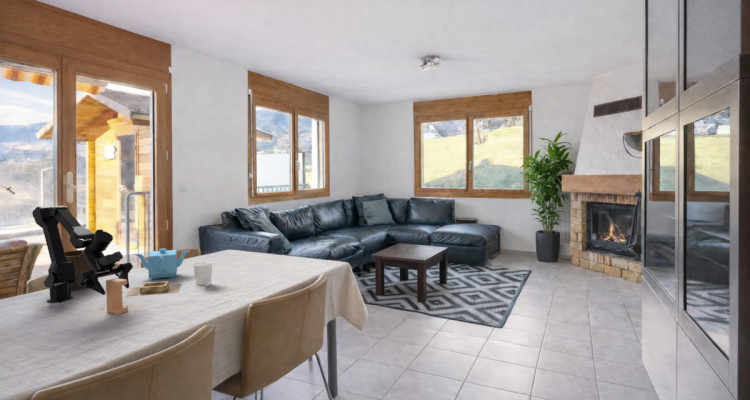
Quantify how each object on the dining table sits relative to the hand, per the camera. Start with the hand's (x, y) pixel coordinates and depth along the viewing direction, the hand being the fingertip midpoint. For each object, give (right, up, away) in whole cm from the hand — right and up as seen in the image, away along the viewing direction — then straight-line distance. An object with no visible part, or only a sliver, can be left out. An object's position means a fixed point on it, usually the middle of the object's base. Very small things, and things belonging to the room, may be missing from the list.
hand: (116, 290), depth 152 cm
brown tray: (+1, -6, +25) cm, 26 cm away
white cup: (+17, -6, +37) cm, 41 cm away
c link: (0, -8, 0) cm, 8 cm away
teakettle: (-8, -5, +49) cm, 50 cm away
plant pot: (-38, -6, +31) cm, 49 cm away
